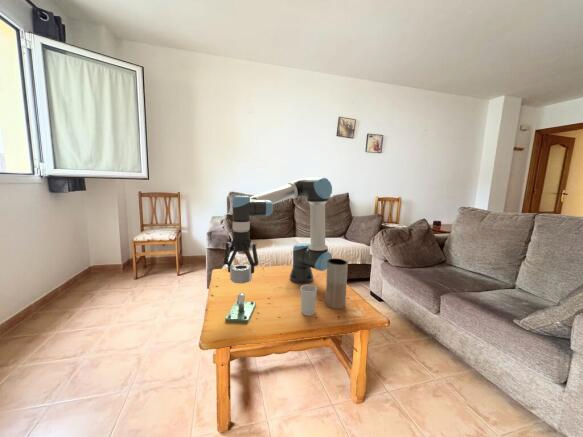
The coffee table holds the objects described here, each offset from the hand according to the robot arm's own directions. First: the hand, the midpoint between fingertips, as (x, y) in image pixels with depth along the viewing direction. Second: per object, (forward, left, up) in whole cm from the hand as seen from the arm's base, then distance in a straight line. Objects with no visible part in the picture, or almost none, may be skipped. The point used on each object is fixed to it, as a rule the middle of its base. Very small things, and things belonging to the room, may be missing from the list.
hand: (241, 279), depth 109 cm
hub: (0, 0, 0) cm, 0 cm away
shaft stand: (0, 0, -16) cm, 16 cm away
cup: (-31, -4, -16) cm, 35 cm away
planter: (-45, -13, -16) cm, 50 cm away
